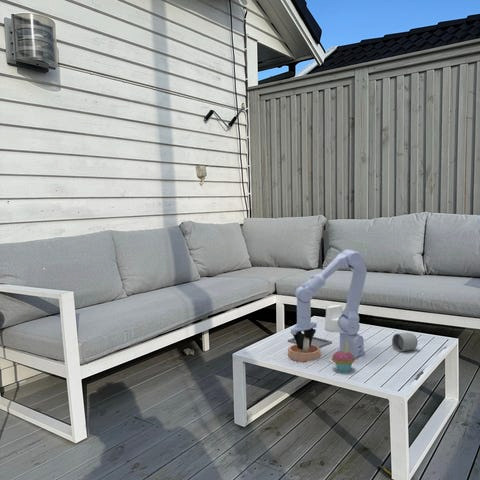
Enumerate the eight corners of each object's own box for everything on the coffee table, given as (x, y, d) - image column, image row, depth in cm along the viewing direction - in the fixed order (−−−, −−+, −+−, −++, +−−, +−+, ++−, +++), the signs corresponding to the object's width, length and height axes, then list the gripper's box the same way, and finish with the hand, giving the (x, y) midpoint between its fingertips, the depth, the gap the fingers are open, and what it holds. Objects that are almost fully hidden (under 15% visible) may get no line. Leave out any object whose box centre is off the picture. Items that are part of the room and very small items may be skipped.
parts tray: (332, 344, 203) (332, 341, 203) (315, 350, 195) (315, 347, 195) (304, 337, 215) (304, 334, 215) (287, 342, 207) (287, 339, 206)
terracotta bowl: (326, 356, 188) (326, 348, 187) (306, 364, 179) (306, 356, 179) (302, 349, 197) (302, 341, 197) (282, 356, 188) (282, 348, 188)
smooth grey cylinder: (311, 350, 188) (311, 339, 187) (304, 353, 185) (304, 341, 184) (303, 348, 191) (303, 336, 191) (296, 350, 188) (295, 338, 188)
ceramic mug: (419, 351, 191) (419, 333, 191) (403, 354, 188) (403, 336, 188) (401, 344, 201) (401, 327, 201) (386, 347, 198) (386, 330, 198)
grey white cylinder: (334, 333, 220) (334, 309, 219) (321, 329, 227) (321, 305, 226) (347, 330, 225) (347, 306, 224) (334, 326, 232) (334, 303, 231)
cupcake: (358, 369, 173) (358, 338, 172) (348, 375, 167) (347, 344, 166) (338, 364, 179) (338, 334, 178) (327, 370, 172) (327, 339, 171)
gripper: (307, 310, 194) (307, 341, 195) (284, 317, 185) (285, 349, 186) (320, 313, 189) (320, 345, 190) (298, 320, 179) (298, 353, 181)
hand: (304, 347), depth 188 cm, fingers closed on smooth grey cylinder, 5 cm apart
